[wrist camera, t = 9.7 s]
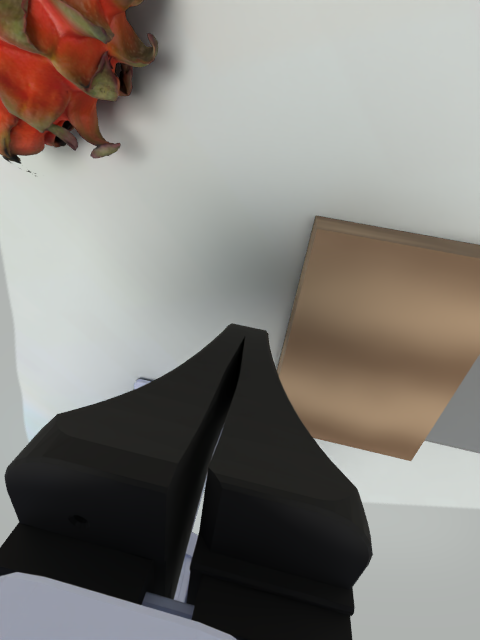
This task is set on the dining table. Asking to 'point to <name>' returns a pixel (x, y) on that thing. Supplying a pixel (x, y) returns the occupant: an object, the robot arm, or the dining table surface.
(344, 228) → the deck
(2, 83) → the dragon fruit
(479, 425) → the mat
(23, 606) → the robot arm
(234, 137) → the dining table surface
